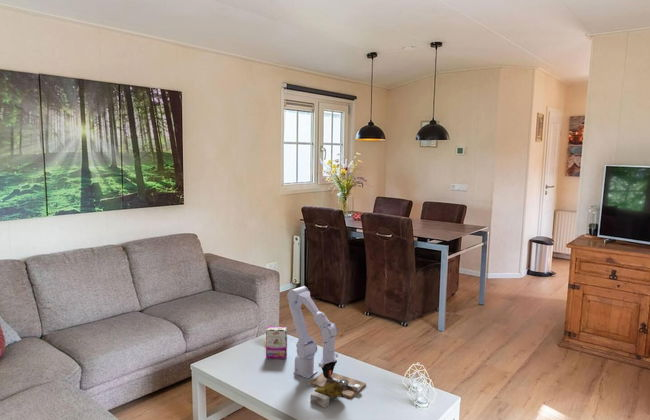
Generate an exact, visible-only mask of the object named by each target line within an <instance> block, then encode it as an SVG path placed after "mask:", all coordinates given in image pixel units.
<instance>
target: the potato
mask: <svg viewBox="0 0 650 420" xmlns="http://www.w3.org/2000/svg"><path fill="white" fill-rule="evenodd" d="M314 391H315V392H318V393H320V394H323V395H326V396H329V399H333V398H341V394H342V392H343V386H342V385H341V384H340V383H337V382H334V383H330V384H328V385H326V386H322V387H319V388H318V387H316V388H315V389H314Z"/></svg>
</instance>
